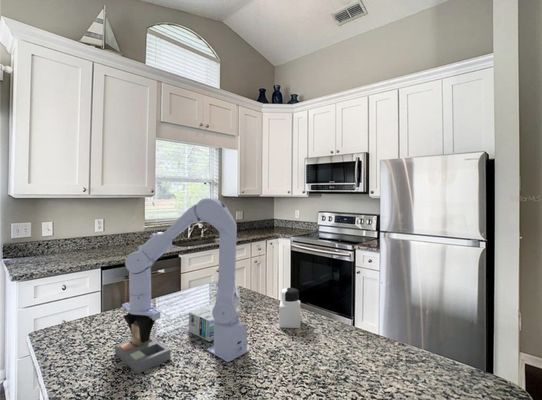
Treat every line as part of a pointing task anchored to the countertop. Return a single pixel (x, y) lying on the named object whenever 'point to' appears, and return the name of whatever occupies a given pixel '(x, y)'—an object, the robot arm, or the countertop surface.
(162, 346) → the port board
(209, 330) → the light bulb box
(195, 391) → the countertop surface
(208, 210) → the robot arm
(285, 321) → the medicine bottle
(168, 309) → the countertop surface
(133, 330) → the plug
